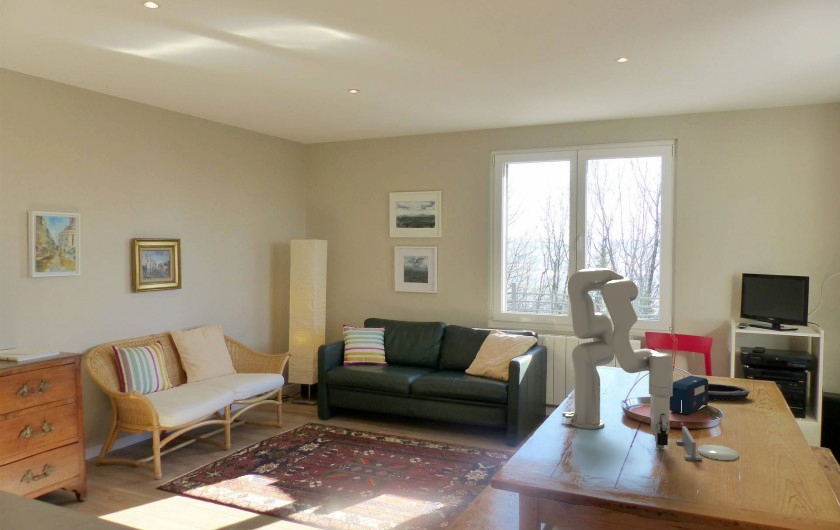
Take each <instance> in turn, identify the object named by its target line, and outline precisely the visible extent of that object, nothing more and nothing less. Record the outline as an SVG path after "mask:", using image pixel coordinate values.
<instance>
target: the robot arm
mask: <svg viewBox="0 0 840 530" xmlns="http://www.w3.org/2000/svg"><path fill="white" fill-rule="evenodd" d="M595 291H596V292H597V291H600V293H601V297H602V299H603V302H604V304H605V307H606V309H607V311H608V314H609V316H607V315H606V314H605V313H603V312H595V306H594V305H595V304H594V301H593V299H592V298H593V297H592V296H591V294H589V292H595ZM567 293H568V298H569V302H570V307H571V308H570V309H571V310H570V311H571V320H572V328H573V329H572V330H573V333H574V335H575V337H576V338H578V339H581V340H588V339H592V341H587V342H583V343H579V344H577V345H576V346H574V348H573V349H572V353H571V359H572V364H573V373H574V409H573V411H570V412H567V411H562V417H563V418H565V419H570V421H569V422H570V424H571V426H574V427H576V428H579V429H586V430H597V429H601V428H604V427H605V421H604V420H602V419H601V376H600V374H599V371H598V370H597V367H601V366H605V365H609V364H610V363H612V361H613V360H614V358H615V357H616V360H617V363H618V364H619V366H620V368H621V369H622V370H623V371H624V372H626V373H628V374H636V373H641V372H648V394H649V395H650V408H649V410H650V411H649V412H650V413H649V418H650V421H651V422H652V423H653V424H654V425H658V433H657V444H658V445H664V446H665V447H667V446H668V445H669V443H668V442H669V441H668V440H669V432H668V431H667V426H668V425H670V397H671V396H673V382H674V358H673V356H672V355H671V354H669V353H666V352H658V351H655V350H653V349H650V348H641V349H640V348H639V349H635V350H633V347H632V345H631V341H630V331H631V329H632V327H633V326H634V325H635V324H636V323H637V321H638V315H637V313H636V311H635V309H634V306H633V304H632V302H633V301H635V300H636V299H638V296H639V289H638V286H637V285H636V283H635V281H633V280H632V279H630V278H628V277H626V276H624V275H623V274H621V273H619V272H616V271H615V270H612V269H610V268H605V267H602V268H601V267H598V268H597V267H596V268H584V269H580V270H579V269H578V270H577V271H575V272H574V273H572V274H571V275H570V277H569V278H568V281H567ZM609 317H610V318H609ZM610 319H611V320H612V321H611V320H610ZM660 417H661V418H660ZM659 423H662V424H659ZM660 427H661V428H660ZM652 434H653V433H652ZM653 436H654V434H653Z"/></svg>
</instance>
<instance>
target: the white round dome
mask: <svg viewBox="0 0 840 530" xmlns="http://www.w3.org/2000/svg"><path fill="white" fill-rule="evenodd" d="M698 452H699V453H700V454H699V453H698ZM697 453H698V454H699V455H700V456H702V455H703V456H702V457H704V456H705V458H707V457H708V458H707V459H711V458H712V459H711V460H715V459H718V460H717V461H723V460H730V461H735V460H737V459H738V458H739V453H738V452H737V451H736V450H734V449H733V448H730V447H727V446H724V445H719V444H703V445H700V446H698V447H697ZM736 458H737V459H736ZM734 459H735V460H734Z"/></svg>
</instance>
